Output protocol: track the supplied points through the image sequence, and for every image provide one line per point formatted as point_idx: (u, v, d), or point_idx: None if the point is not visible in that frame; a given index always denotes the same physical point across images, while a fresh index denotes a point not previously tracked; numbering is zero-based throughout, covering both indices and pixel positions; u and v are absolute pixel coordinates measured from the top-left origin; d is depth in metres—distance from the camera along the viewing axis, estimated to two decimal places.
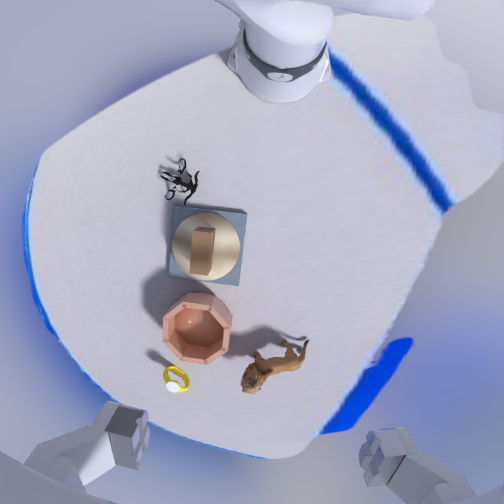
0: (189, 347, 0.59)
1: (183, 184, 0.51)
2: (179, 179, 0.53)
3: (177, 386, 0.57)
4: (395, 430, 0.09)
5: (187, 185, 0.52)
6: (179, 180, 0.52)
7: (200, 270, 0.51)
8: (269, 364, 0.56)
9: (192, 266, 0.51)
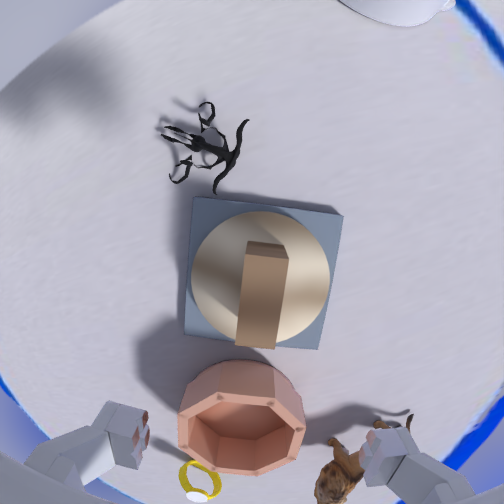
0: (223, 444, 0.31)
1: (211, 148, 0.23)
2: (201, 139, 0.24)
3: (204, 497, 0.29)
4: (394, 429, 0.09)
5: (219, 150, 0.23)
6: (201, 141, 0.24)
7: (259, 339, 0.23)
8: None
9: (242, 331, 0.23)
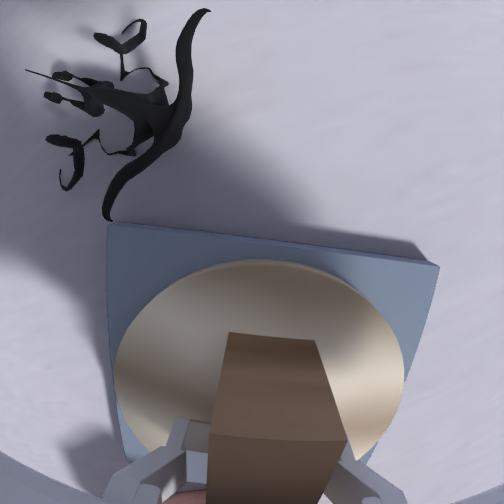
0: None
1: (109, 96, 0.07)
2: (102, 85, 0.09)
3: None
4: None
5: (132, 101, 0.08)
6: None
7: None
8: None
9: None
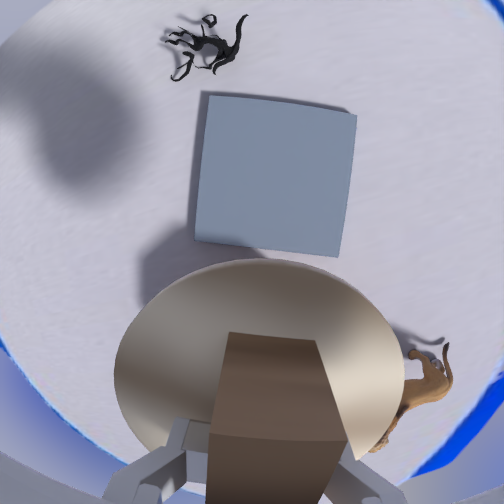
0: None
1: (212, 40, 0.21)
2: None
3: None
4: None
5: (220, 42, 0.22)
6: None
7: None
8: (404, 396, 0.26)
9: None
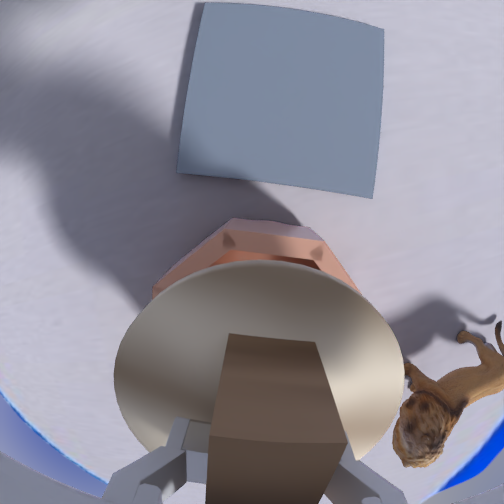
0: None
1: None
2: None
3: None
4: None
5: None
6: None
7: None
8: (463, 389, 0.18)
9: None
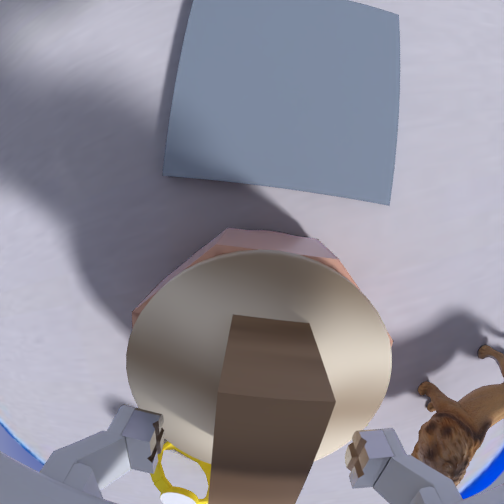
0: None
1: None
2: None
3: (191, 502, 0.17)
4: (381, 430, 0.09)
5: None
6: None
7: None
8: (486, 410, 0.15)
9: None
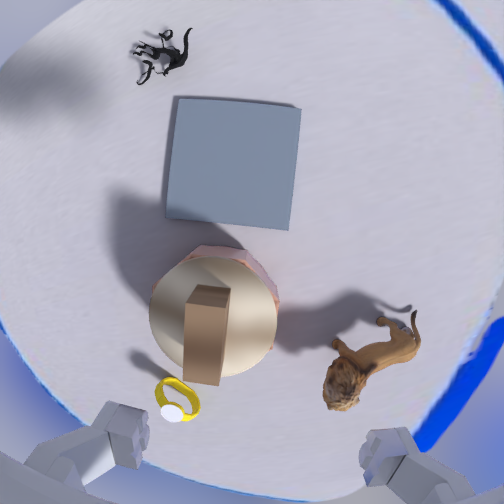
0: None
1: (165, 49, 0.27)
2: None
3: (179, 412, 0.32)
4: (394, 429, 0.09)
5: (171, 51, 0.27)
6: None
7: (204, 377, 0.24)
8: (371, 356, 0.30)
9: (188, 369, 0.24)
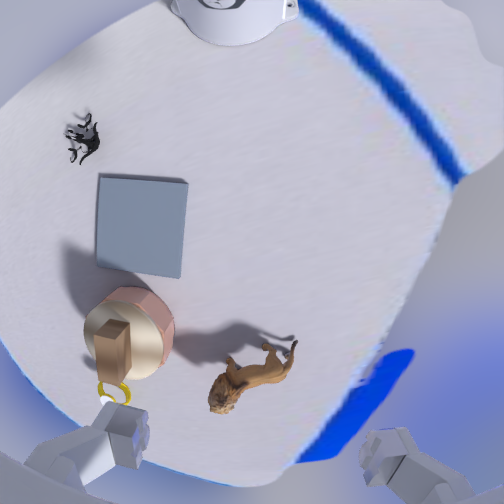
0: None
1: (81, 140, 0.37)
2: (80, 136, 0.38)
3: None
4: (395, 429, 0.09)
5: (86, 141, 0.37)
6: (79, 137, 0.38)
7: (110, 379, 0.35)
8: (244, 375, 0.41)
9: (100, 374, 0.35)
